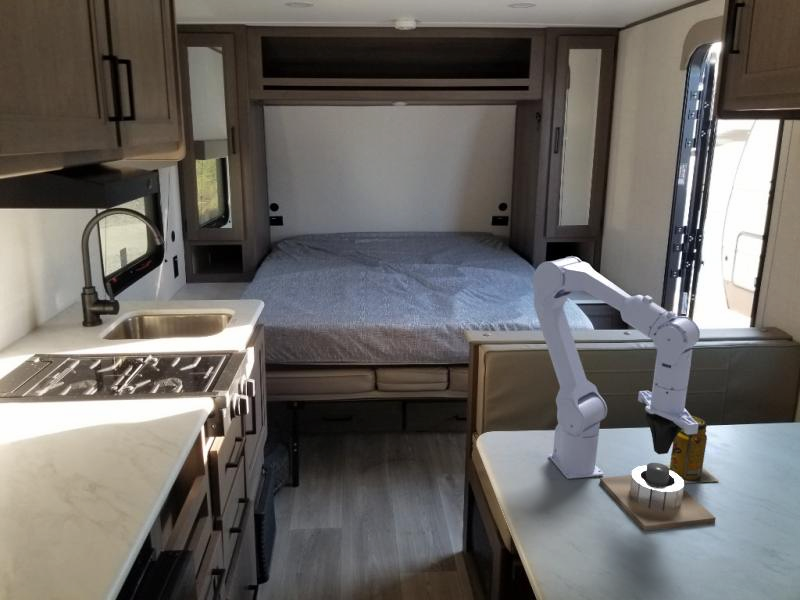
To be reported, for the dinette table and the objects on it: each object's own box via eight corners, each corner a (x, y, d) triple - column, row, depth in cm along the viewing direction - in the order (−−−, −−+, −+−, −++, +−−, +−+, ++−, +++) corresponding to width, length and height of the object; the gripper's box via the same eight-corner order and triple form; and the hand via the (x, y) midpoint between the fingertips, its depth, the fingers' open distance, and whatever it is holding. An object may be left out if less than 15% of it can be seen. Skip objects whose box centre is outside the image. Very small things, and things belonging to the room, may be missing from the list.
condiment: (661, 465, 134) (668, 413, 131) (699, 464, 135) (707, 412, 131) (679, 484, 127) (686, 429, 124) (719, 482, 128) (728, 428, 124)
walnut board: (599, 482, 127) (600, 478, 127) (663, 476, 129) (663, 471, 129) (644, 530, 112) (644, 525, 111) (714, 522, 114) (715, 517, 114)
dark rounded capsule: (642, 498, 120) (645, 470, 118) (644, 488, 123) (648, 460, 121) (664, 504, 118) (668, 475, 116) (667, 494, 121) (670, 465, 120)
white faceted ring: (620, 486, 124) (623, 467, 123) (662, 482, 125) (665, 463, 124) (646, 513, 115) (649, 493, 114) (691, 508, 117) (694, 488, 116)
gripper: (627, 371, 120) (619, 436, 124) (676, 402, 107) (666, 474, 110) (660, 368, 122) (651, 432, 125) (712, 398, 108) (701, 470, 112)
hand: (661, 452), depth 118 cm, fingers closed
